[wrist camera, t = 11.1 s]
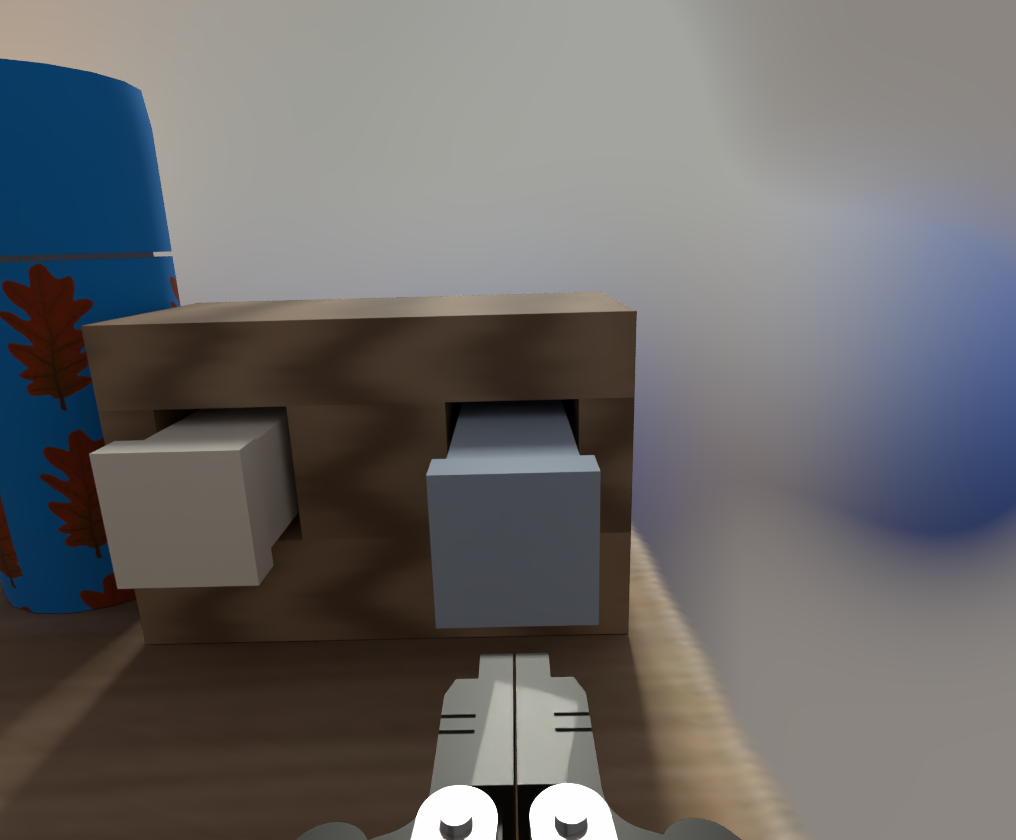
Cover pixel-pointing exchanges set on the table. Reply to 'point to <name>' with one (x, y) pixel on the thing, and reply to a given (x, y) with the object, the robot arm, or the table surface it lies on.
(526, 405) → the key blue
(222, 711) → the table surface
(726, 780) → the table surface
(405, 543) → the housing
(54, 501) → the thermos
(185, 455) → the key white
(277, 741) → the table surface
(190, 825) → the table surface
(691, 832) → the robot arm
